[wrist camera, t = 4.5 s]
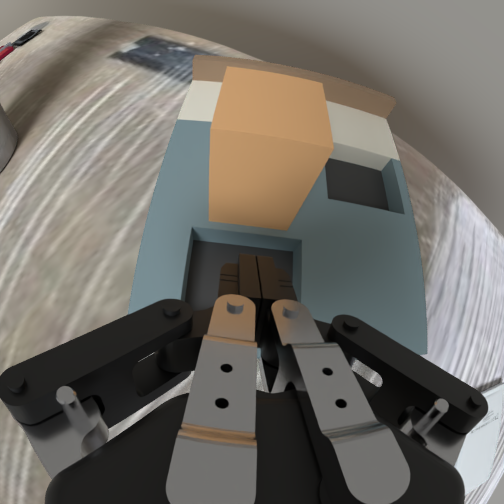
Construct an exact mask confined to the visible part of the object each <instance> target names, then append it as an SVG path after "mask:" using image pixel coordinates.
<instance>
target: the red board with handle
mask: <svg viewBox="0 0 504 504" xmlns="http://www.w3.org/2000/svg"><path fill="white" fill-rule="evenodd" d="M40 31H41V30H31V31H29V32H28V33H26V34H25V35H23V36H22V37H20V38H19V39H18V40H16V41H15V42H13V43H12V44H11V42H9V43H8V44H6V45H5V46H1V47H0V60H1V59H3V58H4V57H5V56H6V55H8V54H9V53H10V52H11V51H13V50H14V48H13V47H12V45H15V46H19V45H21V44H22V43H23V42H25V41H26V40H28V39H29V38H31V37H32V36H34V35H35V34H37V33H38V32H40Z"/></svg>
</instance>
